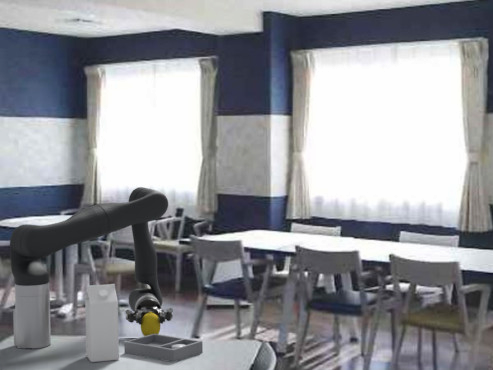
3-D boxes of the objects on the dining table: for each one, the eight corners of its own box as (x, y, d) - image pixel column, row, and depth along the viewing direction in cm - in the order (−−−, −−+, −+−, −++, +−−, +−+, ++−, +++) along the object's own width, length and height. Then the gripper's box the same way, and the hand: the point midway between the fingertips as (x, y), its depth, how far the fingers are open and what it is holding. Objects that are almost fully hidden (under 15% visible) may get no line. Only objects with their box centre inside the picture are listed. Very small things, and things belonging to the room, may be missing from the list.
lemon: (163, 340, 232) (162, 312, 232) (143, 342, 230) (143, 314, 230) (157, 336, 237) (157, 309, 237) (138, 338, 235) (138, 310, 235)
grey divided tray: (124, 353, 219) (124, 341, 219) (154, 344, 228) (153, 333, 228) (173, 361, 209) (173, 350, 209) (202, 352, 218) (202, 341, 218)
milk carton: (86, 356, 216) (84, 283, 215) (113, 353, 218) (112, 281, 217) (91, 362, 209) (89, 287, 208) (119, 360, 212) (117, 285, 211)
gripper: (123, 297, 246) (124, 308, 230) (172, 295, 249) (176, 305, 232) (124, 322, 247) (125, 335, 230) (172, 320, 249) (177, 332, 232)
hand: (151, 320), depth 231 cm, fingers closed on lemon, 5 cm apart
